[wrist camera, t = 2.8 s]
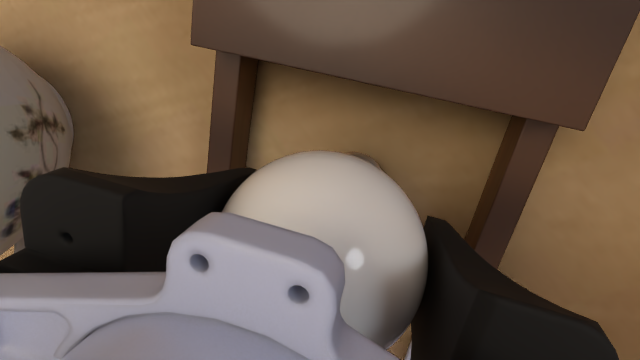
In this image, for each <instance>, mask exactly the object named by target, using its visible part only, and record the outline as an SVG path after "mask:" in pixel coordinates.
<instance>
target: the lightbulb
mask: <svg viewBox="0 0 640 360" xmlns="http://www.w3.org/2000/svg"><path fill="white" fill-rule="evenodd" d="M222 212H227V213H233V214H237V215H240V216H244V217H247V218H251V219H254V220H257V221H261V222H264V223H268V224H271V225H275V226H278V227H282V228H285V229H288V230H292V231H295V232H299V233H302V234H306V235H309V236H313V237H315V238H317V239H319V240H320V241H322V242H324V243H326V244H327V245H329V246H331V247H333V249H334V250H335V252H336V253H337V255H338V256H339V258H340V259H341V260H342V262H343V263H344V270H345V286H344V289H343V293H342V297H341V302H340V313H341V316H342V318H343V319H344V321H345V322H346V324H348V325H349V326H351V327H352V328H354V329H355V330H357V331H358V332H360V333H361V334H363V335H364V336H366V337H367V338H369V339H370V340H372V341H373V342H375V343H376V344H378V345H379V346H381V347H382V348H384V349H385V350H387V349H388V348H389V347H391V346H392V345H393V344H394V343H395V342H396V341H397V340H398V339H399V338H400V337H401V335H402V334H403V333H404V332H405V330H406V329H407V328H408V326H409V325H410V323H411V322H412V320H413V318H414V317H415V315H416V313H417V311H418V309H419V306H420V304H421V301H422V298H423V295H424V292H425V288H426V283H427V276H428V247H427V241H426V236H425V232H424V229H423V226H422V223H421V220H420V218H419V215H418V213H417V211H416V209H415V207H414V205H413V204H412V202H411V200H410V199H409V198H408V196H407V195H406V193H405V192H404V191H403V190H402V188H401V187H400V186H399V185H398V184H397V183H396V182H395V181H394V180H393V179H392V178H391V177H390V176H389V175H387V174H386V173H385V172H383V171H382V170H381V169H380V167H379V165H378V164H377V162H376V161H375V160H374V159H372V158H371V157H370V156H368V155H366V154H363V153H359V152H349V153H341V152H336V151H326V150H313V151H303V152H298V153H293V154H290V155H286V156H283V157H281V158H278V159H276V160H274V161H272V162H270V163H268V164H266V165H264V166H263V167H261V168H260V169H258V170H257V171H255V172H254V173H253V174H251V175H250V176H249V177H248V178H247V179H246V180H245V181H244V182H243V183H242V184H241V185H240V186H239V187H238V188H237V189H236V190H235V192H234V193H233V194H232V195H231V197H230V198H229V200H228V201H227V203H226V205H225V206H224V208H223V210H222Z"/></svg>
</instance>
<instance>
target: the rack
mask: <svg viewBox="0 0 640 360" xmlns="http://www.w3.org/2000/svg"><path fill="white" fill-rule="evenodd" d="M639 11H640V0H193V9H192V28H191V45H194V46H198V47H203V48H208V49H212V50H216V61H215V74H214V87H213V100H212V113H211V126H210V139H209V152H208V165H207V173H213V172H218V171H224V170H230V169H236V168H245V167H246V158H247V150H248V141H249V133H250V124H251V116H252V107H253V99H254V90H255V82H256V73H257V65H258V60H262V61H267V62H271V63H276V64H280V65H285V66H289V67H294V68H298V69H303V70H308V71H312V72H317V73H321V74H326V75H330V76H335V77H339V78H344V79H349V80H353V81H358V82H362V83H367V84H371V85H376V86H380V87H385V88H389V89H394V90H399V91H403V92H408V93H412V94H417V95H421V96H426V97H430V98H435V99H439V100H444V101H449V102H453V103H458V104H462V105H467V106H471V107H476V108H480V109H485V110H490V111H494V112H499V113H503V114H508V115H512V117H511V120H510V123H509V125H508V128H507V131H506V133H505V136H504V138H503V141H502V144H501V146H500V149H499V152H498V154H497V157H496V159H495V162H494V165H493V167H492V170H491V173H490V175H489V178H488V180H487V183H486V186H485V188H484V191H483V193H482V196H481V199H480V201H479V204H478V207H477V209H476V212H475V214H474V217H473V220H472V222H471V225H470V228H469V230H468V233H467V235H466V238H465V241H466V242H467V243H468V244H469V245H470V246H471V247H472V248H473V249H474V250H475V251H476V252H477V253H478V254H479V255H480V256H481V257H482V258H483V259H484V260H486V261H487V262H488V263H489V264H490V265H492V266H493V267H494V268H496V269H497V268H498V266H499V264H500V261H501V259H502V257H503V254H504V252H505V250H506V247H507V245H508V243H509V240H510V238H511V236H512V234H513V231H514V229H515V227H516V224H517V222H518V220H519V217H520V215H521V213H522V211H523V208H524V206H525V204H526V201H527V199H528V197H529V194H530V192H531V190H532V187H533V185H534V183H535V181H536V178H537V176H538V174H539V171H540V169H541V167H542V164H543V162H544V160H545V157H546V155H547V153H548V151H549V148H550V146H551V144H552V141H553V139H554V137H555V134H556V132H557V130H558V128H559V126H562V127H567V128H571V129H576V130H580V131H584V130H585V128H586V126H587V124H588V122H589V120H590V118H591V115H592V113H593V111H594V109H595V107H596V105H597V102H598V100H599V98H600V96H601V94H602V92H603V89H604V87H605V85H606V83H607V81H608V79H609V76H610V74H611V72H612V70H613V68H614V66H615V63H616V61H617V59H618V57H619V55H620V53H621V50H622V48H623V46H624V44H625V42H626V40H627V37H628V35H629V33H630V31H631V29H632V27H633V24H634V22H635V20H636V18H637V16H638V14H639Z"/></svg>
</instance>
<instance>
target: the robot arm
mask: <svg viewBox="0 0 640 360" xmlns="http://www.w3.org/2000/svg"><path fill="white" fill-rule="evenodd" d="M255 171H257V170H256V169H252V168H236V169H230V170H224V171H218V172H213V173H206V174H199V175H192V176H184V177H168V178H147V177H126V176H116V175H107V174H100V173H94V172H88V171H83V170H77V169H72V168H67V167H62V168H59V169H56V170H53V171H50V172H48V173H45V174H42V175H39V176H36V177H35V178H33V179H31V180H29V181H28V183H27V184H26V185H25V187H24V188H23V190H22V194H21V197H20V214H21V222H22V229H23V237H24V245H25V247H26V248H24V249H22V250H20V251H18V252H16V253H14V254H12V255H10V256H8V257H7V258H5V259H3V260H1V261H0V360H400V359H399V358H397V357H396V356H394V355H393V354H391V353H390V352H388V351H387V350H385V349H384V348H382V347H381V346H379V345H378V344H376V343H375V342H373V341H372V340H370V339H369V338H367V337H366V336H364V335H363V334H361V333H360V332H358V331H357V330H355V329H354V328H352V327H351V326H349V325H348V324H346V322H345V321H344V319H343V318H342V316H341V313H340V302H341V297H342V293H343V289H344V286H345V270H344V263H343V262H342V260H341V259H340V258H339V256H338V255H337V253H336V252H335V250H334V249H333V247H331V246H329V245H327V244H326V243H324V242H322V241H320V240H319V239H317V238H315V237H313V236H309V235H306V234H302V233H299V232H295V231H292V230H288V229H285V228H282V227H278V226H275V225H271V224H268V223H264V222H261V221H257V220H254V219H251V218H247V217H244V216H240V215H237V214H233V213H227V212H222V210H223V208H224V206H225V205H226V203H227V201H228V200H229V198H230V197H231V195H232V194H233V193H234V192H235V190H236V189H237V188H238V187H239V186H240V185H241V184H242V183H243V182H244V181H245V180H246V179H247V178H248V177H249V176H250V175H251V174H253V173H254V172H255ZM423 229H424V232H425V236H426V241H427V247H428V276H427V283H426V288H425V292H424V295H423V298H422V301H421V304H420V306H419V309H418V311H417V313H416V315H415V317H414V318H413V320H412V322H411V332H412V340H411V342H410V345H409V348H408V350H407V353H406V356H405V359H404V360H619V358H618V356H617V353H616V350H615V348H614V347H613V345H612V344H611V342H610V341H609V339H608V337H607V336H606V334H605V333H604V331H603V330H602V328H601V327H600V325H599V324H598V322H596V321H593V320H591V319H588V318H586V317H584V316H581V315H579V314H576V313H574V312H571V311H569V310H567V309H564V308H562V307H560V306H558V305H556V304H554V303H551V302H549V301H547V300H545V299H543V298H541V297H540V296H538V295H536V294H534V293H532V292H530V291H529V290H527V289H525V288H524V287H522V286H520V285H519V284H517V283H515V282H514V281H512V280H511V279H509V278H508V277H506V276H505V275H504V274H502V273H501V272H500V271H498V270H497V269H496V268H494V267H493V266H492V265H490V264H489V263H488V262H487V261H486V260H484V259H483V258H482V257H481V256H480V255H479V254H478V253H477V252H476V251H475V250H474V249H473V248H472V247H471V246H470V245H469V244H468V243H467V242H466V241H465V240H464V239H463V238H462V237H461V236H460V235H459V234H458V233H457V232H456V231H455V230H454V228H453V227H452V226H451V225H450V224H449V223H448V222H446V221H445V220H442V219H438V218H435V217H431V216H427V219H426V222H425V225H424V228H423Z"/></svg>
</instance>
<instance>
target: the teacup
mask: <svg viewBox="0 0 640 360" xmlns="http://www.w3.org/2000/svg"><path fill="white" fill-rule="evenodd" d="M73 139H74V130H73V124H72V119H71V115H70V113H69V110H68V108H67V106H66V104H65V102H64V101H63V99H62V98H61V96H60V95H59V93H58V92H57V91H56V89H55V88H54V87H53V86H52V85H51V84H50V83H49V82H48V81H46V80H45V79H43V78H42V77H40V76H39V75H38V74H37V73H35V72H34V71H33V70H32V69H31V68H30V67H29V66H28V65H27V64H25V63H24V62H23V61H22V60H20V59H19V58H18V57H16V56H15V55H14V54H12V53H11V52H9V51H8V50H6V49H5V48H3V47H2V46H0V255H1V254H3V253H4V252H5V251H7V250H8V249H9V248H10V247H12V246H13V245H14V247H15V249H14V253H16V252H18V251H20V250H22V249H24V248H26V247H25V245H24V237H23V229H22V222H21V214H20V197H21V194H22V190H23V188H24V187H25V185H26V184H27V183H28V181H29V180H31V179H33V178H35V177H36V176H39V175H42V174H45V173H48V172H50V171H53V170H56V169H59V168H62V167H67V168H69V164H70V157H71V148H72V144H73Z"/></svg>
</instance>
